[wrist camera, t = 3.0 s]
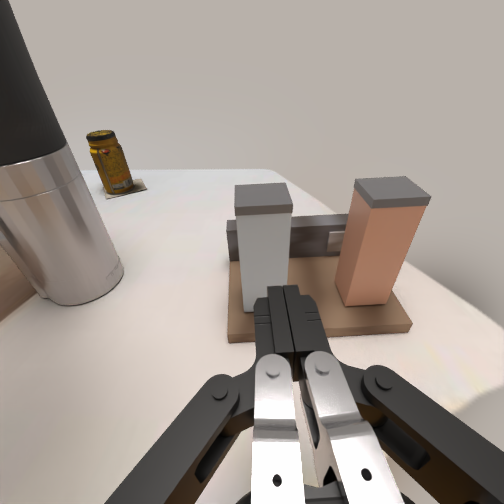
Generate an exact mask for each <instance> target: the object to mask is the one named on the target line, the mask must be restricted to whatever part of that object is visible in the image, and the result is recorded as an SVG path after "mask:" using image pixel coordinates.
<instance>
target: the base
mask: <svg viewBox="0 0 504 504" xmlns="http://www.w3.org/2000/svg"><path fill="white" fill-rule="evenodd" d="M348 215H349V214H334V215H316V216H297V217H291V230H290V246H289V261H288V277H287V285H296V284H297V285H298V287H299V291H300V295H310V296H311V297H312V298H313V300H314V301H315V302H316V304H317V307H318V311H319V314H320V317H321V321H322V324H323V327H324V330H325V333H326V336H327V337H338V336H355V335H372V334H388V333H405V332H409V330H410V328H411V326H412V324H413V323H412V321H411V320H410V318H409V317H408V315H407V313H406V312H405V310H404V309H403V307H402V305H401V304H400V302H399V301H398V299H397V298H396V296H395V294H394V293H393V291H392V290H391V293H390V295H389V298H388V300H387V302H386V304H374V305H357V306H345V305H344V303H343V300H342V298H341V295H340V293H339V291H338V288H337V286H336V283H335V281H334V280H335V275H336V271H337V266H338V261H339V257H340V252H341V247H342V243H343V238H344V234H345V229H346V224H347V220H348ZM226 232H227V240H228V249H229V258H230V274H229V303H228V333H227V335H228V341H229V343H237V342H254V341H255V326H254V311H253V312H244V306H243V294H242V282H241V271H240V259H239V247H238V235H237V223H236V220H227V229H226Z"/></svg>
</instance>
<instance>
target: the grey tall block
mask: <svg viewBox="0 0 504 504" xmlns="http://www.w3.org/2000/svg"><path fill="white" fill-rule="evenodd" d="M234 207H235V216H236V223H237V235H238V247H239V259H240V271H241V282H242V294H243V306H244V312H253V311H254V309H253V306H254V304H255V301H256V299H257V298H262V297H267V286H282V285H287V277H288V261H289V246H290V230H291V214H292V210H293V203H292V200H291V197H290V194H289V191H288V188H287V186H286V183H268V184H249V185H235V205H234Z"/></svg>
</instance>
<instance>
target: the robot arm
mask: <svg viewBox="0 0 504 504" xmlns="http://www.w3.org/2000/svg"><path fill="white" fill-rule="evenodd" d="M0 231H1V232H0V245H1V246H2V247H3V248H4V250H5V251H6V252H7V254H8V255H9V256H10V257H11V259H12V260H13V261H14V263H15V264H16V265H17V267H18V268H19V269H20V270H21V272H22V273H23V274H24V276H25V277H26V278H27V279H28V281H29V282H30V283H31V285H32V286H33V287H34V289H35V290H36V291H37V292H38V294H39V295H40V296H41V298H50V299H51V300H52V301H54V302H55V303H58V304H60V305H77V304H82V303H86V302H89V301H92V300H94V299H96V298H98V297H100V296H102V295H104V294H105V293H107V292H108V291H110V290H111V289H112V288H113V287H114V286H115V285H116V284H117V283H118V282H119V281H120V279H121V277H122V275H123V266H122V264H121V262H120V258H119V256H118V255H117V253H116V250H115V248H114V246H113V243H112V241H111V239H110V236H109V234H108V232H107V230H106V228H105V225H104V223H103V221H102V219H101V216H100V214H99V212H98V210H97V207H96V205H95V203H94V201H93V198H92V196H91V194H90V192H89V189H88V187H87V185H86V183H85V181H84V178H83V176H82V174H81V172H80V170H79V167H78V165H77V163H76V161H75V158H74V156H73V154H72V152H71V149H70V147H69V145H68V143H67V141H66V139H65V136H64V135H63V132H62V130H61V128H60V125H59V123H58V121H57V119H56V116H55V114H54V112H53V109H52V107H51V105H50V102H49V100H48V98H47V95H46V93H45V91H44V89H43V87H42V84H41V82H40V80H39V77H38V75H37V72H36V70H35V68H34V65H33V62H32V60H31V58H30V55H29V52H28V50H27V47H26V45H25V42H24V40H23V37H22V34H21V32H20V29H19V27H18V24H17V22H16V19H15V16H14V14H13V11H12V8H11V6H10V3H9V1H8V0H0ZM253 309H254V326H255V343H256V359H255V362H254V364H253V365H252V367H251V368H250V369H249V370H248V371H246V372H244V373H242V374H240V375H238V376H235V377H233V378H232V377H231V376H229V375H225V374H219V375H215V376H213V377H211V378H210V379H209V380H208V381H207V382H206V383H205V384H204V385H203V386H202V388H201V389H200V390H199V391H198V392H197V394H196V395H195V396H194V397H193V398H192V400H191V401H190V402H189V403H188V404H187V405H186V407H185V408H184V409H183V410H182V411H181V413H180V414H179V415H178V416H177V417H176V419H175V420H174V421H173V422H172V423H171V425H170V426H169V427H168V428H167V429H166V431H165V432H164V433H163V434H162V435H161V436H160V438H159V439H158V440H157V441H156V442H155V444H154V445H153V446H152V447H151V448H150V450H149V451H148V452H147V453H146V454H145V456H144V457H143V458H142V459H141V460H140V461H139V463H138V464H137V465H136V466H135V467H134V469H133V470H132V471H131V472H130V473H129V475H128V476H127V477H126V478H125V479H124V481H123V482H122V483H121V484H120V485H119V487H118V488H117V489H116V490H115V491H114V492H113V494H112V495H111V496H110V497H109V498H108V500H107V501H106V502H105V503H104V504H195V502H196V501H197V499H198V498H199V496H200V495H201V493H202V492H203V490H204V488H205V487H206V485H207V484H208V482H209V481H210V479H211V478H212V476H213V474H214V473H215V471H216V470H217V468H218V467H219V465H220V464H221V462H222V461H223V459H224V457H225V456H226V454H227V453H228V451H229V450H230V448H231V447H232V445H233V443H234V442H235V440H236V439H237V437H238V436H239V434H240V433H241V431H243V430H245V429H247V428H249V427H252V426H254V429H253V460H252V491H251V492H249V493H248V494H246V495H245V496H243V497H242V498H241V499H240V500H239V501H238V502H237V503H236V504H415V503H414V502H413V501H411V500H410V499H409V498H408V497H407V496H405V495H404V494H403V493H401V492H400V491H399V489H398V487H397V484H396V482H395V480H394V477H393V475H392V473H391V470H390V468H389V466H388V463H387V461H386V459H385V456H384V454H383V451H382V450H384V451H385V452H386V453H387V454H388V455H389V456H390V457H391V458H392V459H393V460H394V461H395V462H396V463H397V464H398V465H400V467H402V468H403V469H404V470H405V471H406V472H407V473H408V474H409V475H410V476H411V477H412V478H413V479H414V480H415V481H416V482H418V483H419V484H420V485H421V486H422V487H423V488H424V489H425V490H426V491H427V492H428V493H429V494H430V495H431V496H432V497H433V498H434V499H435V500H436V501H437V502H439V503H440V504H504V452H503V451H501V450H500V449H499V448H497V447H496V446H495V445H493V444H492V443H491V442H489V441H488V440H486V439H485V438H484V437H482V436H481V435H479V434H478V433H477V432H476V431H474V430H473V429H471V428H470V427H469V426H467V425H466V424H465V423H463V422H462V421H461V420H459V419H458V418H456V417H455V416H454V415H452V414H451V413H450V412H448V411H447V410H446V409H444V408H443V407H441V406H440V405H439V404H437V403H436V402H435V401H433V400H432V399H431V398H429V397H428V396H426V395H425V394H424V393H422V392H421V391H420V390H418V389H417V388H416V387H414V386H413V385H412V384H410V383H409V382H407V381H406V380H405V379H403V378H402V377H401V376H399V375H398V374H397V373H395V372H394V371H392V370H391V369H389V368H387V367H385V366H381V365H373V366H370V367H368V368H367V369H366V370H363V369H359V368H355V367H351V366H348V365H346V364H343V363H342V362H340V361H339V360H338V359H337V358H336V357H335V356H334V355H333V353H332V352H331V349H330V346H329V343H328V340H327V336H326V333H325V330H324V327H323V324H322V321H321V317H320V314H319V311H318V307H317V304H316V302H315V301H314V300H313V298H312V297H311V296H310V295H300V291H299V287H298V285H297V284H296V285H282V286H267V297H262V298H257V299H256V301H255V304H254V306H253ZM292 379H293V382H296V381H299V386H300V391H301V393H300V401H301V405H302V409H303V413H304V417H305V421H306V425H307V429H308V433H309V437H310V441H311V445H312V450H313V456H314V466H315V471H316V476H317V480H318V484H319V488H316V487H312V486H309V485H305V484H303V479H302V469H301V458H300V447H299V437H298V430H297V427H296V421H295V410H294V399H293V388H292ZM361 474H362V475H361Z"/></svg>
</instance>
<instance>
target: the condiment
mask: <svg viewBox="0 0 504 504" xmlns="http://www.w3.org/2000/svg"><path fill="white" fill-rule="evenodd" d="M86 138H87V140H88V143H89V146H90V147H91V148H90V153H91V156H92V158H93V161H94V163H95V166H96V168H97V171H98V173H99V176H100V178H101V181H102V183H103V186H104V187H103V189H104V192H105V197H106V199H107V198H112V197H117V196H122V195H125V194H129V193H131V192H137V191H140V190H144V189H147V188H146V187H145V185H144V183H143V181H142V180H141V179H136V180H132V177H131V174H130V171H129V168H128V165H127V162H126V159H125V156H124V153H123V150H122V147H121V145H120V144H119V143H118V140H117V138H116V136H115V133H114V132H113V131H111V130H101V131H95V132H91V133H89V134H87V136H86Z"/></svg>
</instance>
